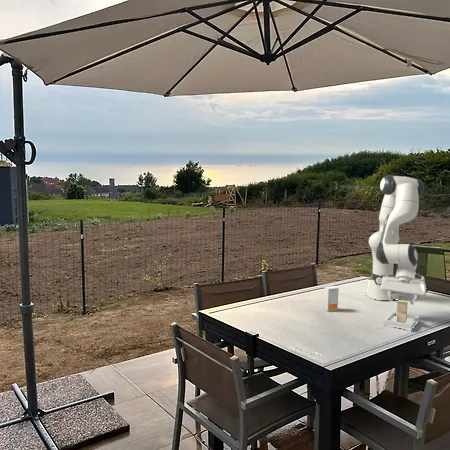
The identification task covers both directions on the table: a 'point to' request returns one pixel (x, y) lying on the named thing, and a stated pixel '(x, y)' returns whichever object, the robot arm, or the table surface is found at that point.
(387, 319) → the tray
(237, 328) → the table surface
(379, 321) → the table surface
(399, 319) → the birch block
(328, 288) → the skincare box
